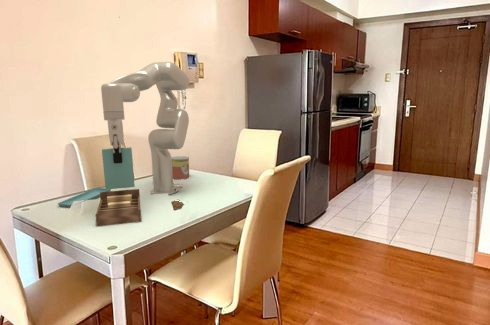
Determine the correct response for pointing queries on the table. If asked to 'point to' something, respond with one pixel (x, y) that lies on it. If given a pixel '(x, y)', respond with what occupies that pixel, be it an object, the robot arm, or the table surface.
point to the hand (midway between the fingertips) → (118, 161)
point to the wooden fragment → (176, 204)
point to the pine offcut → (119, 204)
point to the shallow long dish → (83, 197)
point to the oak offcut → (119, 198)
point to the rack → (118, 209)
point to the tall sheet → (118, 169)
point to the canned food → (180, 167)
